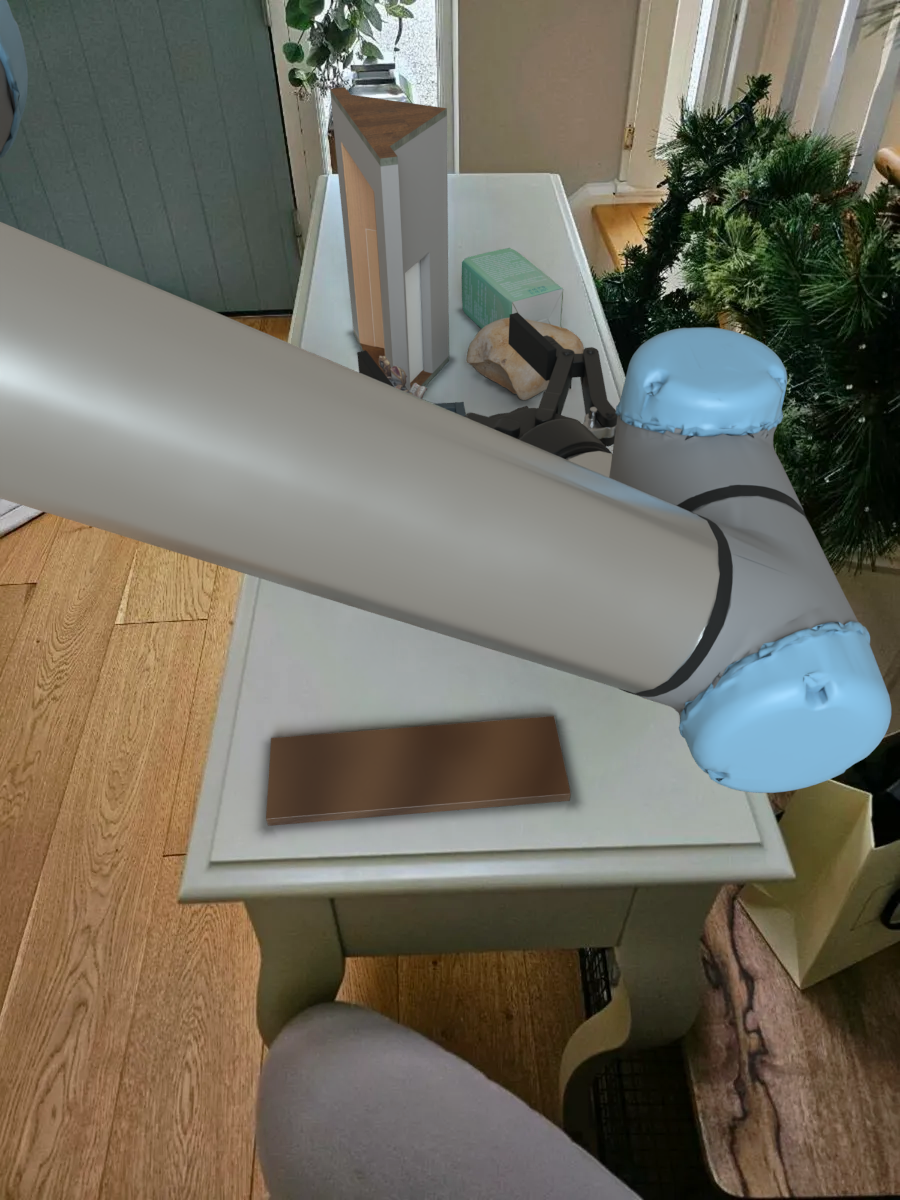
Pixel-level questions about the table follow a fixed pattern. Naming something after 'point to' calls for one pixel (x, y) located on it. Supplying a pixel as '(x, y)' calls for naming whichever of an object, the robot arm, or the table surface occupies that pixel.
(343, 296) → the table surface
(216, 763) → the table surface
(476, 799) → the board
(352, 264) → the cabinet
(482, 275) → the box
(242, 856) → the table surface
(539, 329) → the stone
